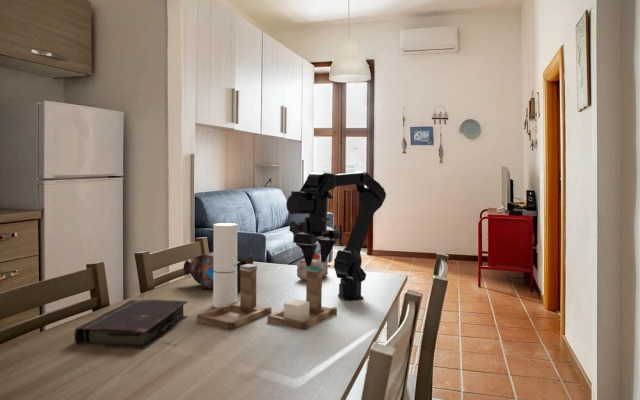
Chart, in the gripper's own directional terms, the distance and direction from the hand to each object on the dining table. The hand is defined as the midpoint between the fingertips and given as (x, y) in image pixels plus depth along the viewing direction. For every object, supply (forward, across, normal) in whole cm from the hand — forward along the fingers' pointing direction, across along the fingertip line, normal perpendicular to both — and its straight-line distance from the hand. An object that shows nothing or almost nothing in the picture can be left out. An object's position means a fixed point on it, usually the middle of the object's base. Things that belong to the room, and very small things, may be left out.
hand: (316, 264), depth 147 cm
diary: (+15, +42, -29) cm, 54 cm away
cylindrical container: (+14, +13, -24) cm, 31 cm away
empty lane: (+14, +24, -12) cm, 30 cm away
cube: (+12, +18, +4) cm, 22 cm away
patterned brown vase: (+14, -3, -41) cm, 44 cm away
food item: (+13, -32, -19) cm, 40 cm away
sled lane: (+13, +14, +4) cm, 20 cm away
